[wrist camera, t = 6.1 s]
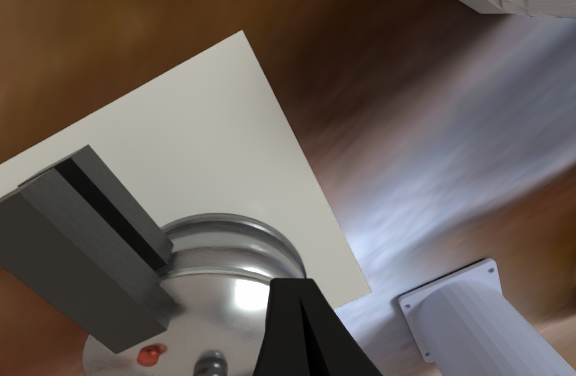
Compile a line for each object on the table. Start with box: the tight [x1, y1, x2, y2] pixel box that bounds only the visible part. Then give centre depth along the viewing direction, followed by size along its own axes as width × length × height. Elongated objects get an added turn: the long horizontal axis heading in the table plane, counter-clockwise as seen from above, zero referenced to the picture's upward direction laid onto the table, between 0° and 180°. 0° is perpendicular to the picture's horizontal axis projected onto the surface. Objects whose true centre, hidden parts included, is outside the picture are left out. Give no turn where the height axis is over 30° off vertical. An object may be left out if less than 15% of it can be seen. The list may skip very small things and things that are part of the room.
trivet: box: [0, 30, 372, 309], centre depth 21 cm, size 20×17×1 cm
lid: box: [0, 168, 273, 376], centre depth 16 cm, size 21×13×2 cm, turn 27°
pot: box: [17, 144, 307, 278], centre depth 19 cm, size 22×12×5 cm, turn 26°
